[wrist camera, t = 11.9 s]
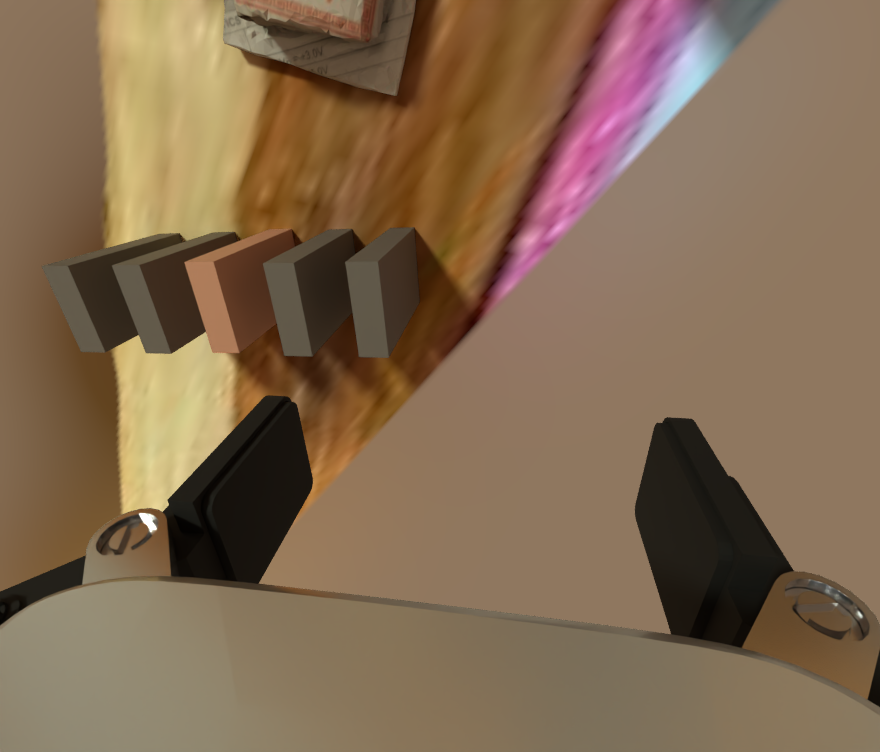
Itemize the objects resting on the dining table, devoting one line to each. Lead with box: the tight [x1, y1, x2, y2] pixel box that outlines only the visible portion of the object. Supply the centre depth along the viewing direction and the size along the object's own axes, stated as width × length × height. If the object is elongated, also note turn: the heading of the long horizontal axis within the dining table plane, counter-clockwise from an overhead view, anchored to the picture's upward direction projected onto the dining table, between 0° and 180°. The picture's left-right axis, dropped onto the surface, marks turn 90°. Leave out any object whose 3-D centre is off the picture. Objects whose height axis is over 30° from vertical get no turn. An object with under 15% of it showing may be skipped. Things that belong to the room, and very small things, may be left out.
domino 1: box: [42, 233, 182, 352], centre depth 29 cm, size 2×5×9 cm, turn 3°
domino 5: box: [345, 228, 420, 358], centre depth 26 cm, size 2×5×9 cm, turn 2°
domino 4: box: [263, 229, 355, 356], centre depth 27 cm, size 2×5×9 cm, turn 3°
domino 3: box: [184, 229, 295, 353], centre depth 27 cm, size 2×5×9 cm, turn 2°
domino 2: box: [112, 232, 237, 354], centre depth 28 cm, size 2×5×9 cm, turn 3°
